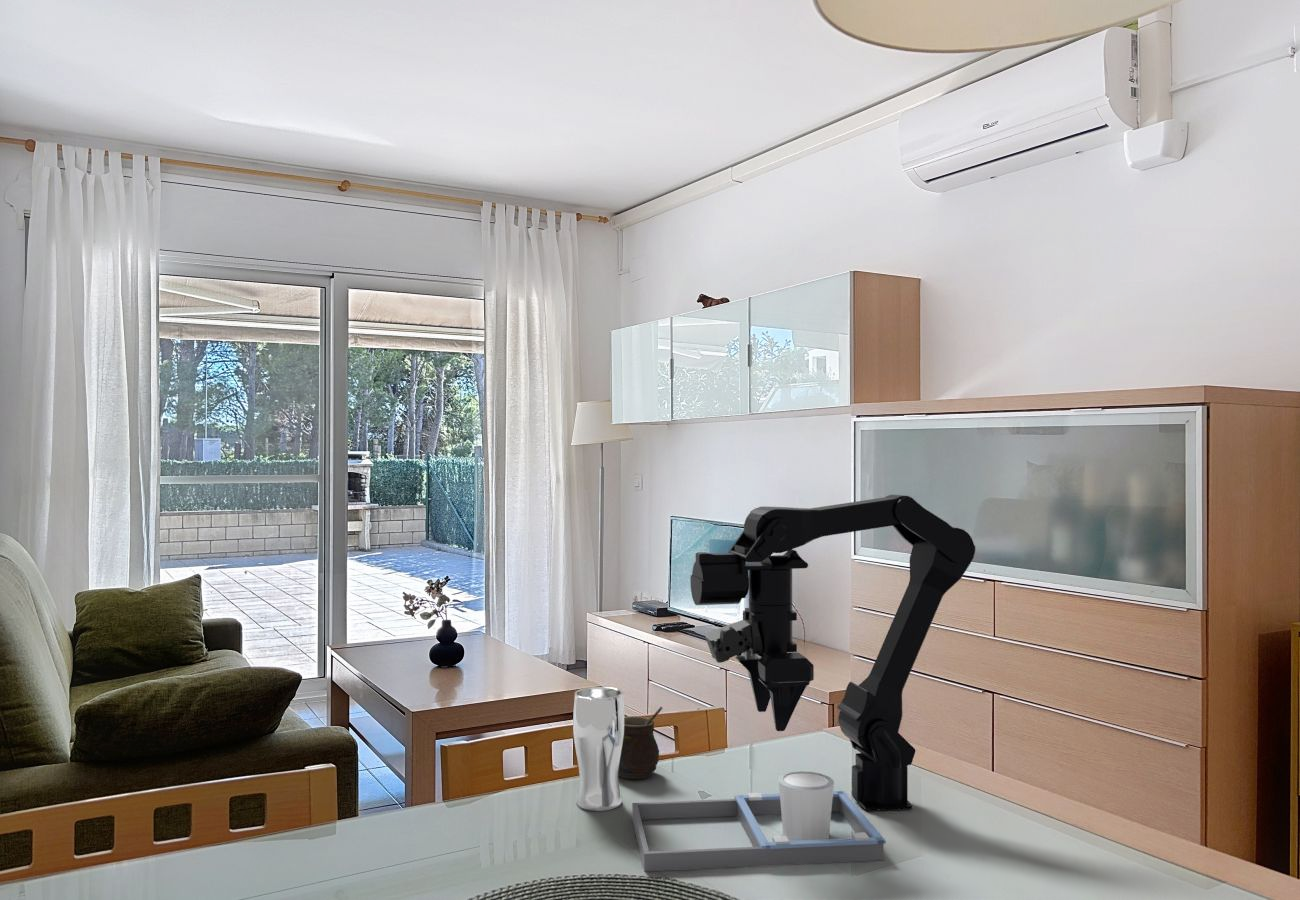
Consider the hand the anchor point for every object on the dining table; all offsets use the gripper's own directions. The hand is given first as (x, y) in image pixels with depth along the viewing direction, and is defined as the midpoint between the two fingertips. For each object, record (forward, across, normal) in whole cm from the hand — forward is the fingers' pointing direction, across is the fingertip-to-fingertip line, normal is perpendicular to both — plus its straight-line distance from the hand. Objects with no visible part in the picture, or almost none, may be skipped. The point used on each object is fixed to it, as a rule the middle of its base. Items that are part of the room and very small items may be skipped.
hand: (770, 720), depth 129 cm
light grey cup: (+12, +8, +2) cm, 15 cm away
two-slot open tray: (+12, +8, -5) cm, 15 cm away
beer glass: (+12, -7, -22) cm, 26 cm away
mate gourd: (+12, -17, -16) cm, 26 cm away
